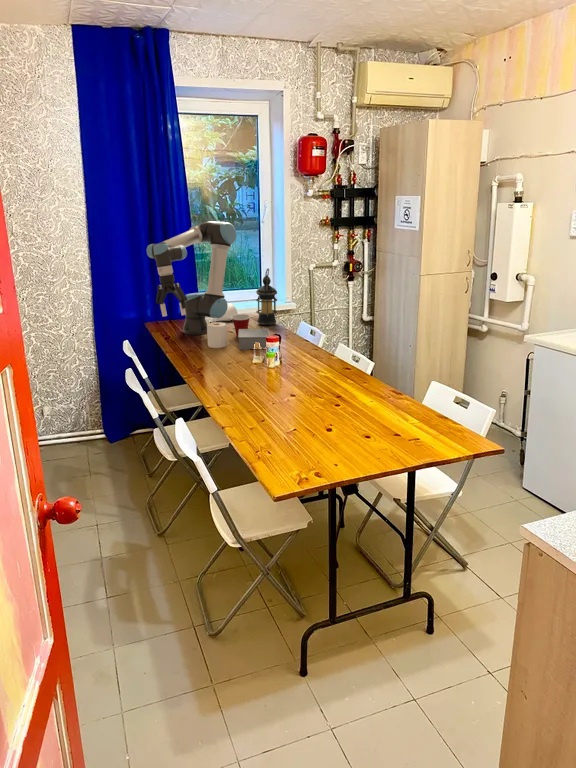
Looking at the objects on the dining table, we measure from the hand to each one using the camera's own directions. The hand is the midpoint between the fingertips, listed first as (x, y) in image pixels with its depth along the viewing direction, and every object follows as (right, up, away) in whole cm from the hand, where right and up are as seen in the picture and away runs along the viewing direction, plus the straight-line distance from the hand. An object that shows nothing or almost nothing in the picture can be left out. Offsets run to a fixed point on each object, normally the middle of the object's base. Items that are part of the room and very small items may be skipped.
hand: (174, 315), depth 311 cm
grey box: (+41, -14, +18) cm, 46 cm away
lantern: (+46, +2, +65) cm, 80 cm away
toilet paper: (+21, -15, +16) cm, 30 cm away
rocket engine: (+16, +5, +74) cm, 76 cm away
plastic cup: (+32, -8, +36) cm, 49 cm away
